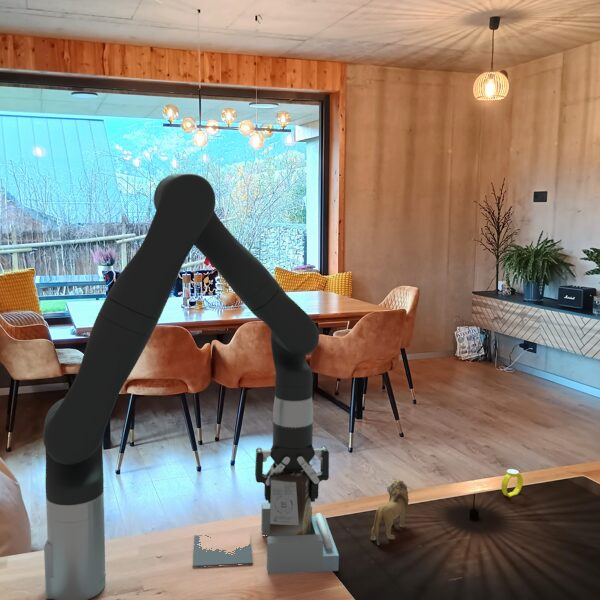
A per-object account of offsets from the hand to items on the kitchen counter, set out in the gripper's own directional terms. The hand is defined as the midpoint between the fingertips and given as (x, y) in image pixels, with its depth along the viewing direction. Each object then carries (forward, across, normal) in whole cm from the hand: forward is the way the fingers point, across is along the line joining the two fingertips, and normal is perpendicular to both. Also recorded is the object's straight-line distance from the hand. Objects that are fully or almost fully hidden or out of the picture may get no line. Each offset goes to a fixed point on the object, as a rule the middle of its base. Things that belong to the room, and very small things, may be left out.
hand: (291, 500), depth 124 cm
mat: (+10, -13, +1) cm, 17 cm away
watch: (+10, +55, +20) cm, 59 cm away
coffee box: (+10, 0, 0) cm, 10 cm away
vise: (+10, +1, 0) cm, 10 cm away
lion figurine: (+10, +21, +6) cm, 25 cm away
